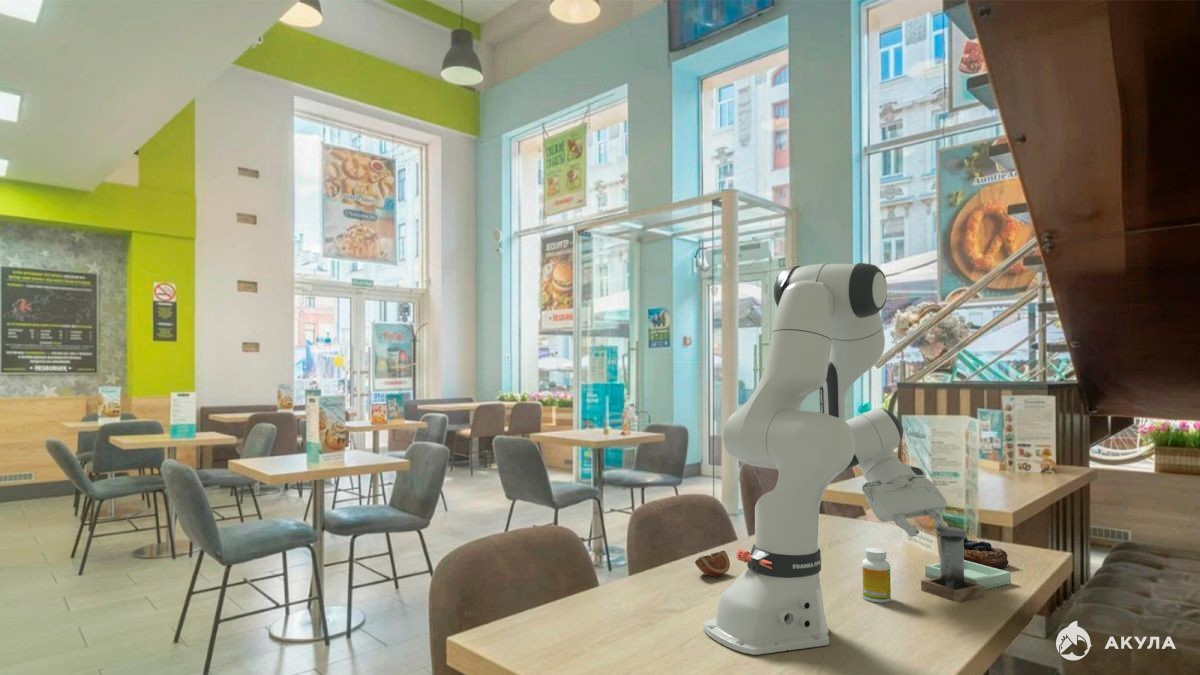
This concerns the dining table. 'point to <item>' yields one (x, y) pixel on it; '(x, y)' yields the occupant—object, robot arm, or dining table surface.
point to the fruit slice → (714, 564)
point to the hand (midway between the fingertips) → (929, 532)
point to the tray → (975, 574)
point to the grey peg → (952, 556)
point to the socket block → (953, 590)
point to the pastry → (984, 554)
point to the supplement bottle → (876, 576)
